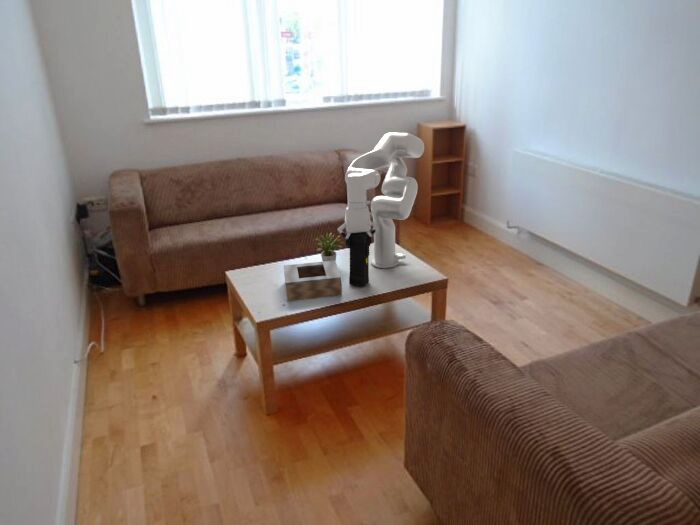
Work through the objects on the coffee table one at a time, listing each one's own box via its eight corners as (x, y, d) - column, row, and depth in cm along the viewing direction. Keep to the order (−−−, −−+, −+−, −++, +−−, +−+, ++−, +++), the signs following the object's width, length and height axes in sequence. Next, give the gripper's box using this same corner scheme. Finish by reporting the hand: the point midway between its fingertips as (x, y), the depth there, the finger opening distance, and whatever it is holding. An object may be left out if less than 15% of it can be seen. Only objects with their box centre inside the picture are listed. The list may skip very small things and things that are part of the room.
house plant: (324, 276, 227) (322, 241, 221) (306, 267, 237) (303, 233, 231) (349, 267, 235) (348, 233, 229) (331, 259, 245) (329, 226, 239)
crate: (336, 277, 225) (335, 260, 222) (342, 295, 209) (341, 277, 206) (285, 282, 222) (283, 265, 219) (287, 301, 206) (285, 282, 203)
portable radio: (371, 282, 219) (372, 226, 209) (364, 288, 214) (365, 230, 205) (355, 279, 223) (355, 223, 213) (348, 284, 218) (348, 227, 208)
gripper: (376, 200, 210) (377, 241, 216) (334, 203, 207) (336, 245, 214) (380, 205, 203) (381, 247, 209) (336, 209, 200) (338, 251, 207)
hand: (358, 245), depth 212 cm, fingers closed on portable radio, 7 cm apart
